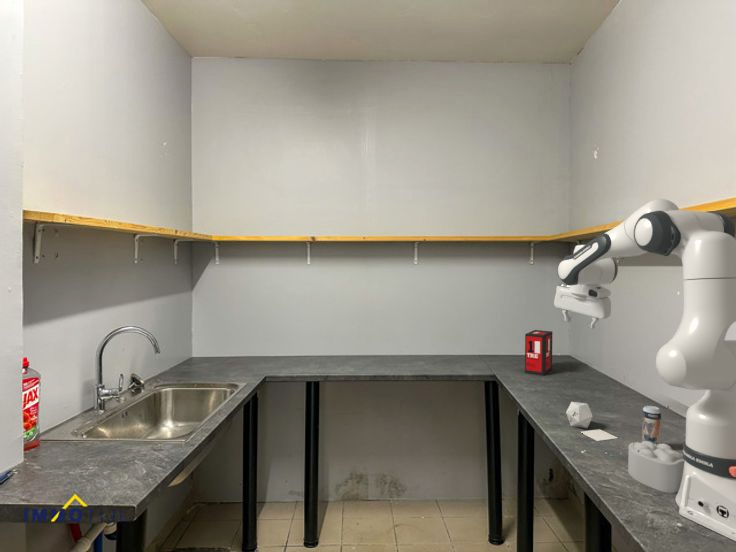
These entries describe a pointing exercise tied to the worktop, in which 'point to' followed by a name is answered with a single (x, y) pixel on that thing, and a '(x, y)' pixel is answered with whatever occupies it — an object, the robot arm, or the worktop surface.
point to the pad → (599, 435)
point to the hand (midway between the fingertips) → (579, 324)
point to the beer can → (651, 424)
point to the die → (579, 414)
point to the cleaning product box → (538, 352)
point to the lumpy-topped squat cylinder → (656, 465)
